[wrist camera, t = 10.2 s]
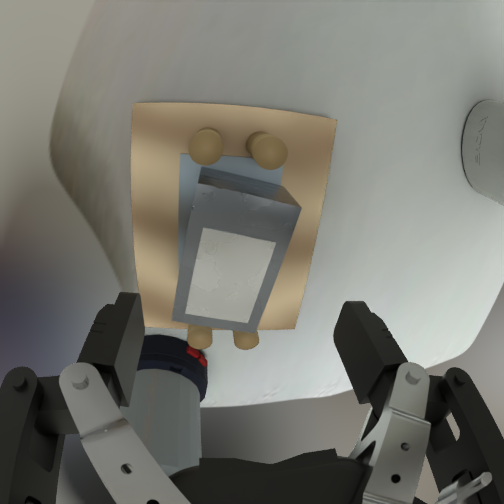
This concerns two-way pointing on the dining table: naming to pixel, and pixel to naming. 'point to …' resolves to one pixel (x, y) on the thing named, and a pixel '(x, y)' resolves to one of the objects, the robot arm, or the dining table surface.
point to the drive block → (233, 250)
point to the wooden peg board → (228, 160)
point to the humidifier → (168, 401)
